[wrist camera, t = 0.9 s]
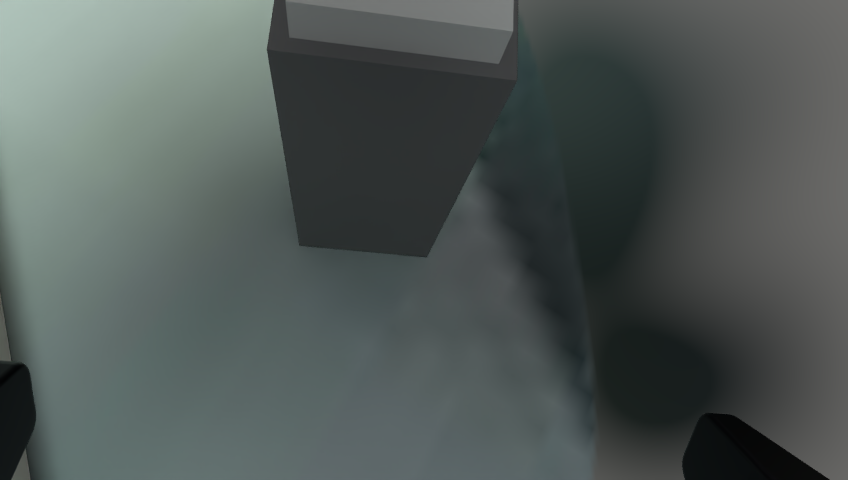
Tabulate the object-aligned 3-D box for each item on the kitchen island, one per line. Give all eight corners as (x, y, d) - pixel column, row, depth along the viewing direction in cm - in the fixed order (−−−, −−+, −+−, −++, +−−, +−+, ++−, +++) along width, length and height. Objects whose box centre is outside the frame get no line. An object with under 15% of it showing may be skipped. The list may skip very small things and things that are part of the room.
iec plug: (426, 257, 23) (533, 48, 11) (299, 245, 23) (261, 13, 10) (432, 155, 24) (534, -136, 12) (312, 142, 24) (290, -175, 12)
